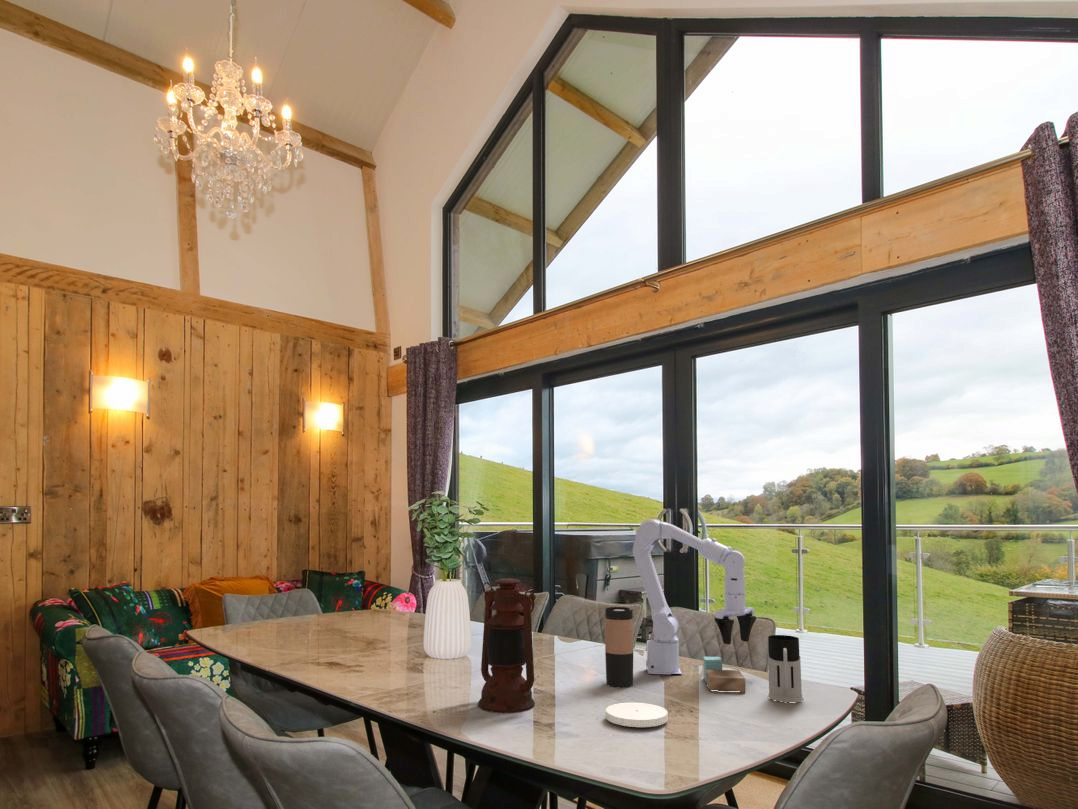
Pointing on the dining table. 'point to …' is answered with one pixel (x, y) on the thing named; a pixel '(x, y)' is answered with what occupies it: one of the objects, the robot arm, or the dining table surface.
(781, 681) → the glass holder
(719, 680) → the walnut base
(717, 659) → the teal block
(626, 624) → the travel mug
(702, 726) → the dining table surface
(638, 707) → the plastic lid
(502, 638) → the lantern
